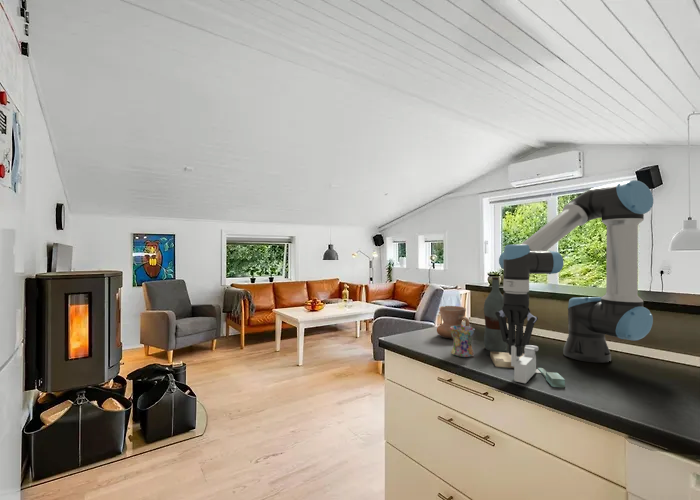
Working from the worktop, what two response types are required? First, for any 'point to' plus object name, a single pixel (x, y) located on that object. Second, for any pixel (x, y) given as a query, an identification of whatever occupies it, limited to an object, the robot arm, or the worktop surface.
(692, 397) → the worktop surface
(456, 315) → the ceramic jug
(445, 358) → the worktop surface
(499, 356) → the stool seat
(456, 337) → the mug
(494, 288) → the bottle
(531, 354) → the hinged leg
